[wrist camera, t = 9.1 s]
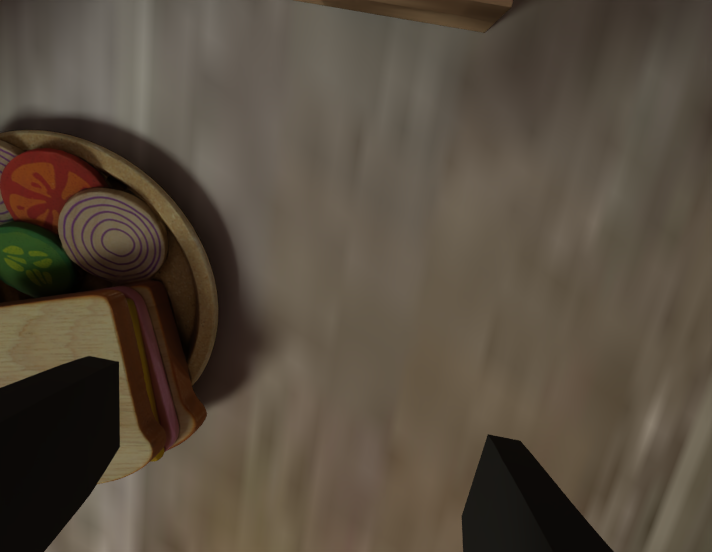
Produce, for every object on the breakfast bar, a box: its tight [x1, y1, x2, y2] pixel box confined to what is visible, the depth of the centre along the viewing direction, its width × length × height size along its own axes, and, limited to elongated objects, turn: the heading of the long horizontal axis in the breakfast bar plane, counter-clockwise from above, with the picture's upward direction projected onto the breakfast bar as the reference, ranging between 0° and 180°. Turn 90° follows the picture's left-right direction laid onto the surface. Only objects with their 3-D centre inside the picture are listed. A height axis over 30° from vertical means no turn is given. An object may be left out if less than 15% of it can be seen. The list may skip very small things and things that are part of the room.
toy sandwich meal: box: [0, 130, 218, 484], centre depth 18 cm, size 12×14×5 cm
